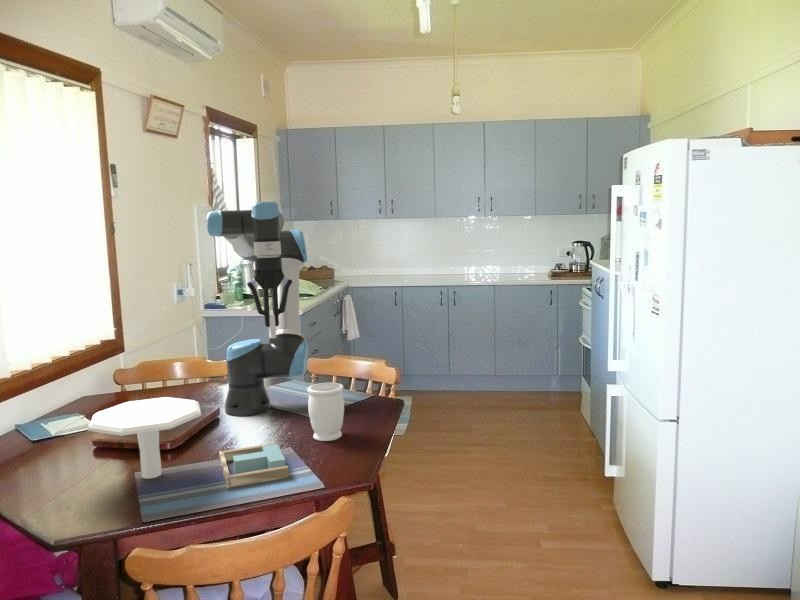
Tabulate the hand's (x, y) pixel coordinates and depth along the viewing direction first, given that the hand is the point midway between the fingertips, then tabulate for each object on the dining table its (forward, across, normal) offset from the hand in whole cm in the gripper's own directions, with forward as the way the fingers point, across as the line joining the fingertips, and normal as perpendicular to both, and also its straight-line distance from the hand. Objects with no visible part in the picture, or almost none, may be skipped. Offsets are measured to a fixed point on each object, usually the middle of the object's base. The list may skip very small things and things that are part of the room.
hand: (272, 337), depth 185 cm
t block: (+30, -9, -23) cm, 39 cm away
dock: (+29, -10, -23) cm, 39 cm away
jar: (+30, +13, -8) cm, 33 cm away
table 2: (+30, -35, -16) cm, 49 cm away
